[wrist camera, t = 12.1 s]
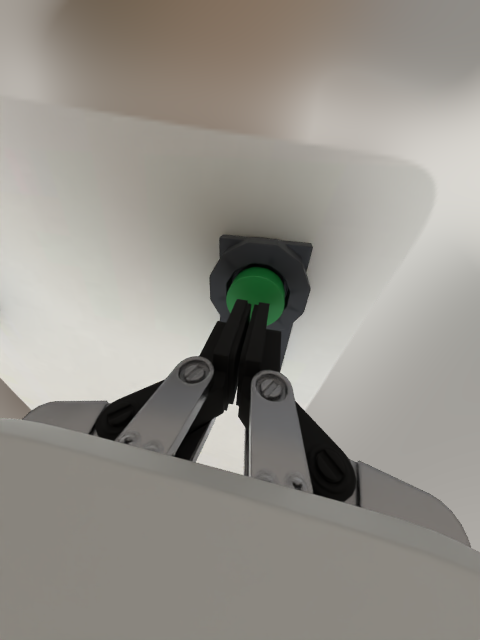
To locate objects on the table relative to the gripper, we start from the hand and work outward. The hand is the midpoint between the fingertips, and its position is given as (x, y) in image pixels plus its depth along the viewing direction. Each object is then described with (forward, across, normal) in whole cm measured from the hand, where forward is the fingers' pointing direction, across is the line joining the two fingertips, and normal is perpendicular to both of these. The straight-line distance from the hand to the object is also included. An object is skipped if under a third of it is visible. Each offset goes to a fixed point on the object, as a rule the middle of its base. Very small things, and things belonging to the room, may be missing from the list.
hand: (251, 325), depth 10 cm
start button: (+4, 0, 0) cm, 4 cm away
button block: (+6, 0, +3) cm, 6 cm away
